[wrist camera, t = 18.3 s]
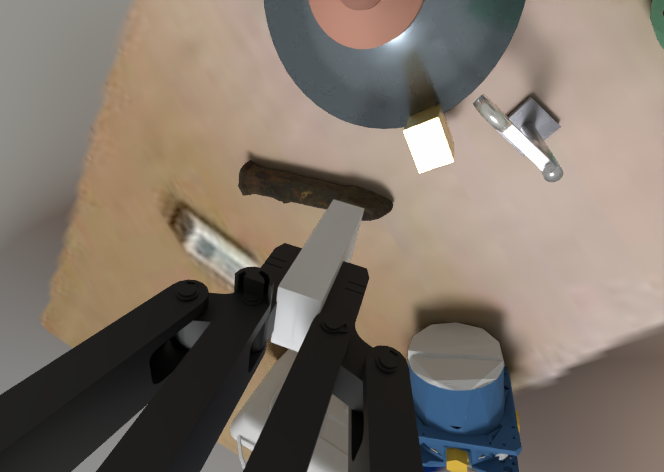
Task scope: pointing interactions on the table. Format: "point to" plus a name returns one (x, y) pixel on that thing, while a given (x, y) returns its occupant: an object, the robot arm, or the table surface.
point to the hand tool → (309, 191)
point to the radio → (246, 427)
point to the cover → (365, 20)
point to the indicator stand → (525, 132)
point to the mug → (658, 19)
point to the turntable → (398, 67)
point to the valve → (463, 400)
